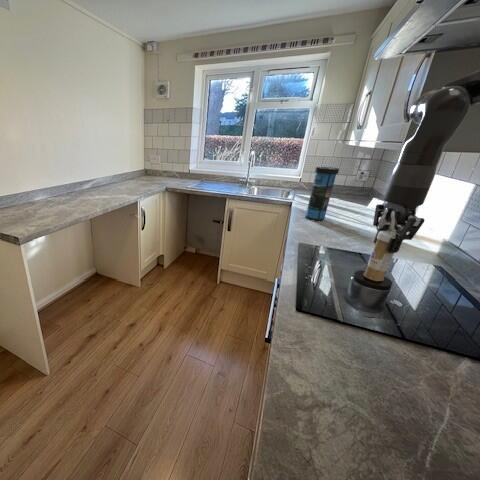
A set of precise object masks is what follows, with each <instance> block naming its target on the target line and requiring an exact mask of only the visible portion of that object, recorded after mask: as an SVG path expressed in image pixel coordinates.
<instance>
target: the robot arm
mask: <svg viewBox="0 0 480 480" xmlns="http://www.w3.org/2000/svg"><path fill="white" fill-rule="evenodd" d="M479 104H480V69H478V70H476V71H474V72H472V73H470V74H467V75H465V76H463V77H460V78H457V79H454V80H452V81H450V82H448V83H445V84H442V85H441V86H438V87H436V88H433V89H432V90H430V91H428V92H425V93H424V94H423V95H420V97H418V98H417V99H416V100H415V101H414V102H413V103H412V104H411V106H410V109H409V112H408V116H409V119H410V120H411V122H413V124H416V125H418V127H417V129H416V131H415V133H414V135H413V136H411V137H410V138H407V140H405V142H404V144H403V146H402V147H401V150H400V153H399V156H398V158H397V163H396V164H395V166H394V168H393V170H392V172H391V175H390V178H389V180H388V183H387V186H386V189H385V191H384V194H383V197H382V199H383V201H384V202H385V204H376V205H375V210H374V216H373V221H372V225H373V227H375V229H376V234H375V237H374V240H373V243H374V245H375V244H376V241H377V236H378V233H379V232H380V231H388V230H389V229H390V228H391V229H392V238H391V239H390V242H389V244H388V247H387V249H386V251H388V252H390V253H394V254H396V253H398V252H399V250H400V248H401V246H402V244H403V241H404V240H406V241H412V240H413V239H414V237H415V236H416V234H417V233H418V231H419V230H420V228H421V227H422V226H423V224H424V223H425V218H424V217H418V216H417V215H416V214H417V208H418V207H420V206H422V205H423V204H424V203H425V201H426V198H427V196H428V193H429V191H430V188H431V186H432V184H433V181H434V179H435V176H436V172H437V169H438V165H439V163H440V161H441V158H442V155H443V153H444V151H445V147H446V145H447V144H448V143H449V142H450V140H451V139H452V138H453V136H454V135H455V134H456V132H457V130H458V129H459V128H460V126H461V125H462V124H463V121H464V120H465V118H466V116H467V115H468V113H469V111H470V108H471V107H474V106H476V105H479ZM386 202H387V203H386ZM380 217H381V218H380ZM379 218H380V219H379ZM378 220H379V222H378ZM386 224H387V225H386ZM397 225H404V226H403V227H398V226H397ZM398 230H401V232H400V233H399V234H398Z"/></svg>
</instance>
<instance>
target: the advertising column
mask: <svg viewBox="0 0 480 480" xmlns="http://www.w3.org/2000/svg"><path fill="white" fill-rule="evenodd" d="M339 170H340V168H338V167H332V166H331V167H330V166H316V167H315V170H314V173H315V176H314V179H313V183H312V189H311V191H310V196H309V197H310V198H309V200H308V205H307V209H306V213H305V217H304V218H305V219H306V218H307V219H306V220H308V219H309V220H308V221H311V220H314V221H313V222H319V221H320V222H324V221H325V217H326V214H327V210H328V207H329V203H330V200H331V195H332V192H333V188H334V184H335V181H336V177H337V175H338V174H339ZM323 220H324V221H323Z"/></svg>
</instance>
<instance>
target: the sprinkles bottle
mask: <svg viewBox="0 0 480 480" xmlns="http://www.w3.org/2000/svg"><path fill="white" fill-rule="evenodd" d="M391 238H392V232H390V231H380V232H379V233H378V236H377V241H376V244H375V243H374V247H373V250H372V252H371V254H370V256H369V260H368V262H367V265H366V267H365V270H364V271H365V273H364V276H365V277H366V278H368V279H370V280H373V281H383V280H384V276H385V277H386V273H387V271H388V269H389V267H390V264H391V262H392V259H393V257H394V255H395V253H390V252H388V251H386V249H387V247H388V244H389V242H390V239H391Z"/></svg>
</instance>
